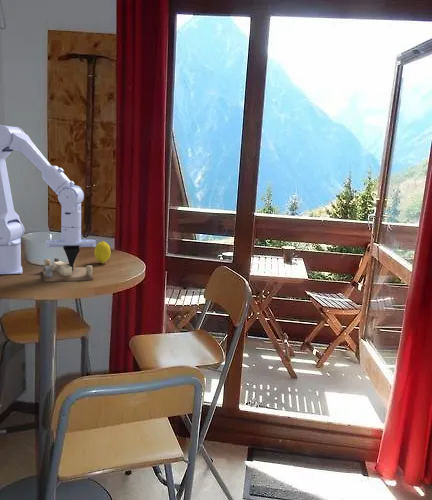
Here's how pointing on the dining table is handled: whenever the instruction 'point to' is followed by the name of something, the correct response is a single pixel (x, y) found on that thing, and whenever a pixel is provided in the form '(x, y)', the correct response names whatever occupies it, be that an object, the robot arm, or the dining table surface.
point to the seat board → (77, 274)
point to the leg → (62, 267)
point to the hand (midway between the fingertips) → (70, 270)
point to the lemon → (102, 252)
